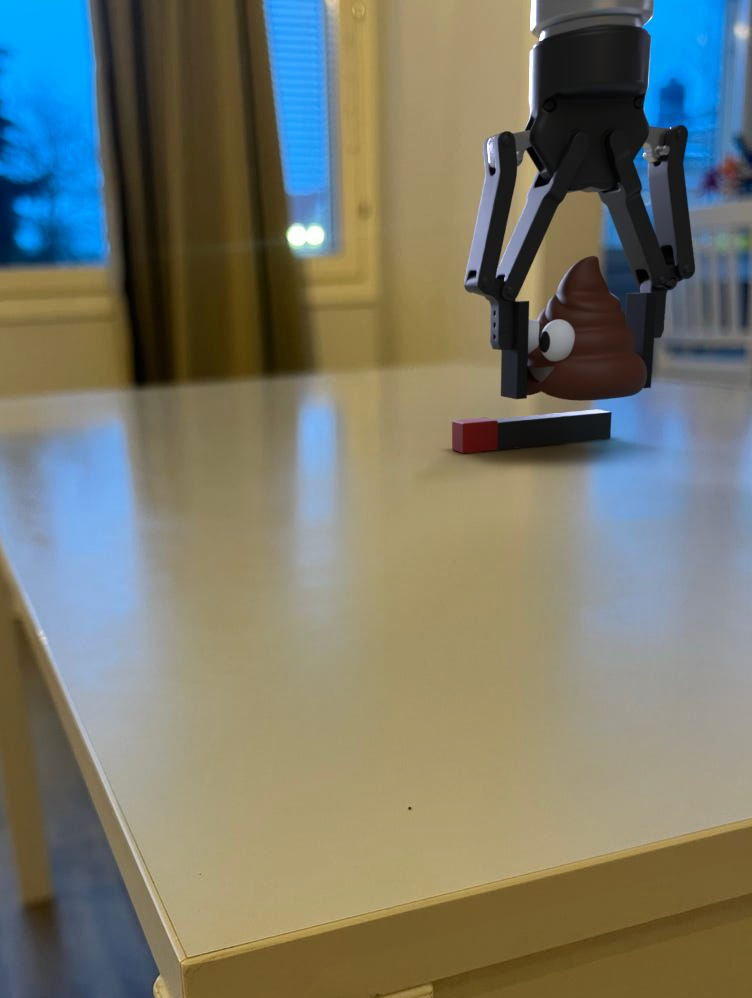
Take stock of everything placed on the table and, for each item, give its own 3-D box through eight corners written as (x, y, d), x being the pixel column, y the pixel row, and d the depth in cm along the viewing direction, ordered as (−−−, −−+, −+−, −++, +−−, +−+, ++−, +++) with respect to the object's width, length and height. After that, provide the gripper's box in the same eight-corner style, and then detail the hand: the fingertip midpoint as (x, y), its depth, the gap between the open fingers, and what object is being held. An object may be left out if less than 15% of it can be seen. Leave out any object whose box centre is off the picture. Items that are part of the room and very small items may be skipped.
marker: (596, 435, 84) (597, 406, 83) (611, 439, 82) (612, 409, 81) (451, 449, 82) (451, 420, 81) (462, 453, 79) (462, 423, 79)
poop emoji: (673, 393, 69) (683, 249, 65) (572, 406, 66) (578, 255, 63) (579, 385, 77) (584, 257, 74) (486, 395, 74) (488, 263, 71)
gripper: (704, 46, 69) (680, 377, 77) (411, 52, 66) (415, 399, 73) (777, 17, 62) (742, 384, 70) (454, 22, 59) (453, 409, 66)
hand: (575, 391), depth 71 cm, fingers closed on poop emoji, 9 cm apart
